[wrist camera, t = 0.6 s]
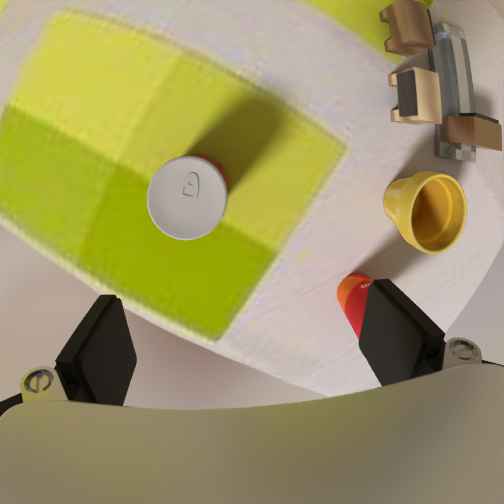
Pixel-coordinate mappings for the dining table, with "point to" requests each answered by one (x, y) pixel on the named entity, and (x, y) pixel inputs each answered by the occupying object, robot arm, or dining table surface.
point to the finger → (408, 27)
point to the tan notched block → (417, 97)
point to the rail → (446, 88)
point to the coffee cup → (354, 299)
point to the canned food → (188, 196)
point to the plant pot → (427, 210)
